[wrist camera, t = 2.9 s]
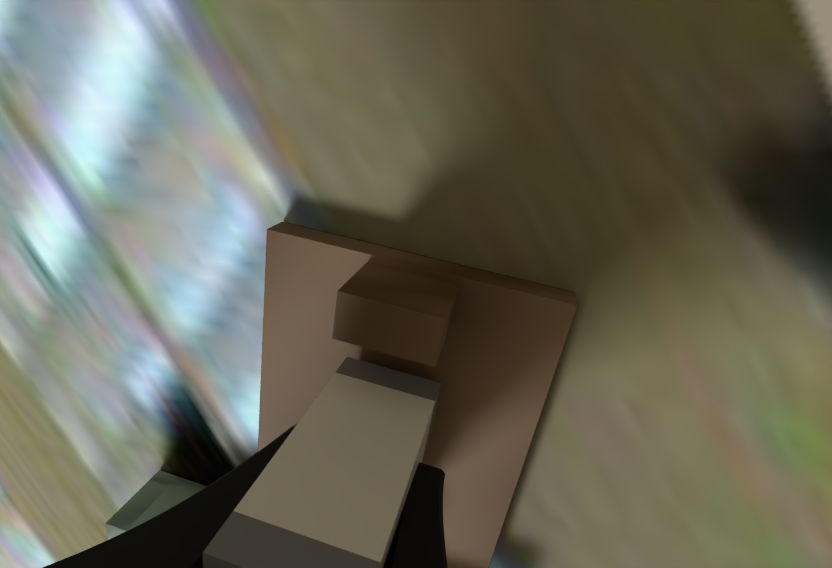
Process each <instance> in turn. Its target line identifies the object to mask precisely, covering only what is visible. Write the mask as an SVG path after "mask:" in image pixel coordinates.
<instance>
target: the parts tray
mask: <svg viewBox="0 0 832 568" xmlns="http://www.w3.org/2000/svg"><path fill="white" fill-rule="evenodd" d="M205 487H207V486H204V485H202V484H199V483H196V482H193V481H190V480H187V479H184V478H181V477H178V476H175V475H172V474H169V473H166V472H164V471H161V470H159V471H158V472H157V473H156V474H155V475H154V476H153V477H152V478H151V479H150V480H149V481H148V482H147V483H146V484H145V485H144V486H143V487H142V488H141V489H140V490H139V491H138V492H137V493H136V494H135V495H134V496H133V497H132V498H131V499H130V500H129V501H128V502H127V503H126V504H125V505H124V506H123V507H122V508H121V509H120V510H119V511H118V512H117V513H116V514H115V515H114V516H113V517H112V518H111V519H110V520H109V521H108V522H107V523H106V530H107V537H108V540H109V539H111V538H113V537H115V536H117V535H120V534H122V533H124V532H126V531H128V530H130V529H132V528H134V527H136V526H138V525H140V524H142V523H144V522H146V521H148V520H150V519H151V518H153V517H155V516H157V515H159V514H161V513H163V512H164V511H166V510H168V509H170V508H172V507H173V506H175V505H177V504H179V503H180V502H182V501H184V500H186V499H187V498H189V497H190V496H192V495H194V494H195V493H197V492H198V491H200V490H202V489H203V488H205Z"/></svg>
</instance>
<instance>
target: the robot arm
mask: <svg viewBox="0 0 832 568" xmlns="http://www.w3.org/2000/svg"><path fill="white" fill-rule="evenodd" d="M296 425H297V424H296ZM296 425H294V426H292V427H291V428H289V429H288V430H287V431H285V432H284V433H283V434H281V435H280V436H279V437H277V438H276V439H275V440H273V441H272V442H271V443H269V444H268V445H267V446H265V447H264V448H263V449H261V450H260V451H258V452H257V453H256V454H254V455H253V456H251V457H250V458H249V459H247V460H246V461H244V462H243V463H241V464H240V465H238V466H237V467H236V468H234V469H233V470H231V471H230V472H228V473H227V474H225V475H224V476H222V477H221V478H219V479H218V480H216V481H215V482H213V483H211V484H210V485H208V486H207V487H205V488H203V489H202V490H200V491H198V492H197V493H195V494H194V495H192V496H190V497H189V498H187V499H186V500H184V501H182V502H180V503H179V504H177V505H175V506H173V507H172V508H170V509H168V510H166V511H164V512H163V513H161V514H159V515H157V516H155V517H153V518H151V519H150V520H148V521H146V522H144V523H142V524H140V525H138V526H136V527H134V528H132V529H130V530H128V531H126V532H124V533H122V534H120V535H117V536H115V537H113V538H111V539H109V540H107V541H105V542H103V543H101V544H98V545H96V546H94V547H92V548H90V549H87V550H85V551H83V552H80V553H78V554H75V555H73V556H70V557H68V558H65V559H63V560H61V561H58V562H56V563H53V564H51V565H48V566H46V567H43V568H203V551H204V550H205V549H206V547H207V546H208V545H209V543H210V542H211V541H212V539H213V538H214V536H215V535H216V534H217V532H218V531H219V530H220V528H221V527H222V526H223V524H224V523H225V522H226V520H227V519H228V517H229V516H230V515H231V513H232V512H233V511H234V509H235V508H236V507H237V505H238V504H239V503H240V501H241V500H242V498H243V497H244V496H245V494H246V493H247V492H248V490H249V489H250V488H251V486H252V485H253V483H254V482H255V481H256V479H257V478H258V477H259V475H260V474H261V473H262V471H263V470H264V469H265V467H266V466H267V464H268V463H269V462H270V460H271V459H272V458H273V456H274V455H275V454H276V452H277V451H278V450H279V448H280V447H281V445H282V444H283V443H284V441H285V440H286V439H287V437H288V436H289V435H290V433H291V432H292V430H293V429H294V428H295V426H296ZM444 479H445V473H444V471H443V470H442V469H440V468H436V467H433V466H430V465H427V464H424V463H420V462H419V464H418V467H417V469H416V472H415V475H414V477H413V480H412V483H411V486H410V489H409V491H408V494H407V498H406V502H405V507H404V511H403V516H402V521H401V525H400V530H399V534H398V539H397V544H396V548H395V553H394V558H393V562H392V567H391V568H448V566H447V558H446V548H445V537H444V524H443V488H444Z"/></svg>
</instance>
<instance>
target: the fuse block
mask: <svg viewBox="0 0 832 568" xmlns="http://www.w3.org/2000/svg"><path fill="white" fill-rule="evenodd" d="M576 308H577V301H576V295H575V293H574V292H570V291H566V290H562V289H557V288H553V287H549V286H545V285H541V284H537V283H533V282H529V281H524V280H520V279H516V278H512V277H508V276H504V275H500V274H495V273H491V272H487V271H483V270H479V269H475V268H471V267H466V266H462V265H458V264H454V263H450V262H446V261H442V260H438V259H433V258H429V257H425V256H421V255H417V254H413V253H409V252H404V251H400V250H396V249H392V248H388V247H384V246H380V245H376V244H371V243H367V242H363V241H359V240H355V239H351V238H347V237H342V236H338V235H334V234H330V233H326V232H322V231H318V230H314V229H309V228H305V227H301V226H297V225H293V224H289V223H285V222H281V223H279V224H277V225H275V226H273V227H271V228H269V229H267V243H266V267H265V292H264V316H263V341H262V365H261V389H260V414H259V438H258V451H260V450H261V449H263V448H264V447H265V446H267V445H268V444H269V443H271V442H272V441H273V440H275V439H276V438H277V437H279V436H280V435H281V434H283V433H284V432H285V431H287V430H288V429H289V428H291V427H292V426H294V425H296V424H298V422H299V421H300V420H301V418H302V417H303V416H304V414H305V413H306V411H307V410H308V409H309V407H310V406H311V405H312V403H313V402H314V401H315V399H316V398H317V397H318V395H319V394H320V392H321V391H322V390H323V388H324V387H325V386H326V384H327V383H328V382H329V380H330V379H331V377H332V376H333V375H334V373H335V372H336V371H337V369H338V368H339V367H340V365H341V364H342V363H343V361H344V360H345V358H346V357H351V358H354V359H358V360H361V361H365V362H368V363H372V364H375V365H379V366H382V367H386V368H389V369H393V370H396V371H400V372H404V373H407V374H411V375H414V376H418V377H421V378H425V379H428V380H432V381H435V382H439V383H441V387H440V391H439V395H438V400H437V404H436V409H435V413H434V417H433V422H432V426H431V431H430V435H429V439H428V444H427V448H426V453H425V457H424V461H423V463H424V464H427V465H430V466H433V467H436V468H440V469H442V470H443V471H444V473H445V479H444V488H443V524H444V537H445V548H446V558H447V566H448V568H488V567H489V564H490V561H491V558H492V555H493V552H494V549H495V546H496V543H497V540H498V537H499V535H500V532H501V529H502V526H503V523H504V520H505V517H506V514H507V511H508V508H509V505H510V502H511V499H512V496H513V493H514V490H515V488H516V485H517V482H518V479H519V476H520V473H521V470H522V467H523V464H524V461H525V458H526V455H527V452H528V449H529V446H530V443H531V441H532V438H533V435H534V432H535V429H536V426H537V423H538V420H539V417H540V414H541V411H542V408H543V405H544V402H545V399H546V396H547V394H548V391H549V388H550V385H551V382H552V379H553V376H554V373H555V370H556V367H557V364H558V361H559V358H560V355H561V352H562V349H563V346H564V344H565V341H566V338H567V335H568V332H569V329H570V326H571V323H572V320H573V317H574V314H575V311H576Z"/></svg>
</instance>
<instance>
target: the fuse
mask: <svg viewBox="0 0 832 568" xmlns="http://www.w3.org/2000/svg"><path fill="white" fill-rule="evenodd" d="M440 387H441V383H439V382H435V381H432V380H428V379H425V378H421V377H418V376H414V375H411V374H407V373H404V372H400V371H396V370H393V369H389V368H386V367H382V366H379V365H375V364H372V363H368V362H365V361H361V360H358V359H354V358H351V357H346V358H345V360H344V361H343V363H342V364H341V365H340V367H339V368H338V369H337V371H336V372H335V373H334V375H333V376H332V377H331V379H330V380H329V382H328V383H327V384H326V386H325V387H324V388H323V390H322V391H321V392H320V394H319V395H318V397H317V398H316V399H315V401H314V402H313V403H312V405H311V406H310V407H309V409H308V410H307V411H306V413H305V414H304V416H303V417H302V418H301V420H300V421H299V422H298V424H297V425H296V426H295V428H294V429H293V430H292V432H291V433H290V435H289V436H288V437H287V439H286V440H285V441H284V443H283V444H282V445H281V447H280V448H279V450H278V451H277V452H276V454H275V455H274V456H273V458H272V459H271V460H270V462H269V463H268V464H267V466H266V467H265V469H264V470H263V471H262V473H261V474H260V475H259V477H258V478H257V479H256V481H255V482H254V483H253V485H252V486H251V488H250V489H249V490H248V492H247V493H246V494H245V496H244V497H243V498H242V500H241V501H240V503H239V504H238V505H237V507H236V508H235V509H234V511H233V512H232V513H231V515H230V516H229V517H228V519H227V520H226V522H225V523H224V524H223V526H222V527H221V528H220V530H219V531H218V532H217V534H216V535H215V536H214V538H213V539H212V541H211V542H210V543H209V545H208V546H207V547H206V549H205V550H204V551H203V568H391V567H392V562H393V558H394V553H395V548H396V544H397V539H398V534H399V530H400V525H401V521H402V516H403V511H404V507H405V502H406V498H407V494H408V491H409V489H410V486H411V483H412V480H413V477H414V475H415V472H416V469H417V467H418V464H419V462H420V463H423V461H424V457H425V453H426V448H427V444H428V439H429V435H430V431H431V426H432V422H433V417H434V413H435V409H436V404H437V400H438V395H439V391H440Z"/></svg>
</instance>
